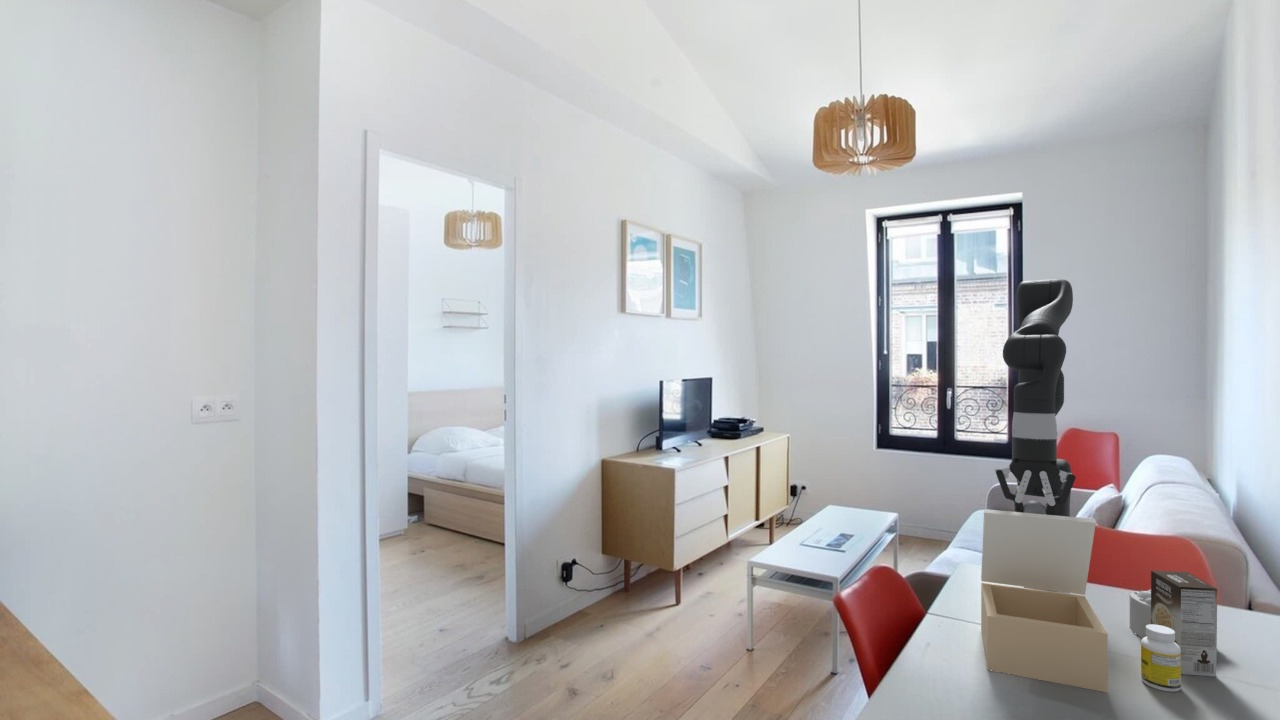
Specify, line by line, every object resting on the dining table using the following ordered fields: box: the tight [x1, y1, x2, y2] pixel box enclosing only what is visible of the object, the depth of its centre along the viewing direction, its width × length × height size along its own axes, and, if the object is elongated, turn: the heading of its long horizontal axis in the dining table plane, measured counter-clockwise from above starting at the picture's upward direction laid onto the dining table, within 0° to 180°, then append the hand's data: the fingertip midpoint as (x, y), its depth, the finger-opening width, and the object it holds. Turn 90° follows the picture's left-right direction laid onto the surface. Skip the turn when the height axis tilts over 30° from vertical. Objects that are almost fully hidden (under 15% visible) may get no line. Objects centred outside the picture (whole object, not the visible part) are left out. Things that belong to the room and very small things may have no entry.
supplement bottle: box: [1140, 624, 1182, 693], centre depth 111 cm, size 5×5×10 cm
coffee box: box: [1150, 569, 1218, 678], centre depth 118 cm, size 9×6×16 cm
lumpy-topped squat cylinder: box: [1129, 589, 1151, 639], centre depth 130 cm, size 10×13×9 cm
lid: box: [980, 500, 1097, 596], centre depth 127 cm, size 19×18×6 cm
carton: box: [980, 581, 1109, 693], centre depth 121 cm, size 19×18×10 cm
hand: (1034, 522), depth 125 cm, fingers closed on lid, 4 cm apart
